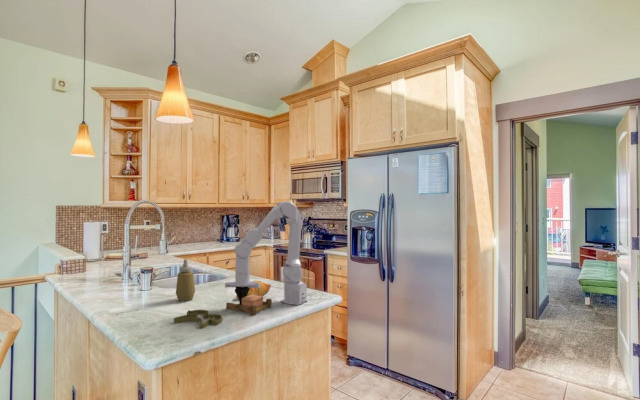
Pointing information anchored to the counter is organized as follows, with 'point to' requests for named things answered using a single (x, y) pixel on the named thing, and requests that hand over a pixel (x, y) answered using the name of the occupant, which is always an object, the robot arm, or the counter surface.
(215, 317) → the cookie cutter
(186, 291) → the squeeze bottle
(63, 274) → the counter surface
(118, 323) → the counter surface
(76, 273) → the counter surface
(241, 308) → the brown wooden frame
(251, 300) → the peach rectangular block
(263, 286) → the croissant
